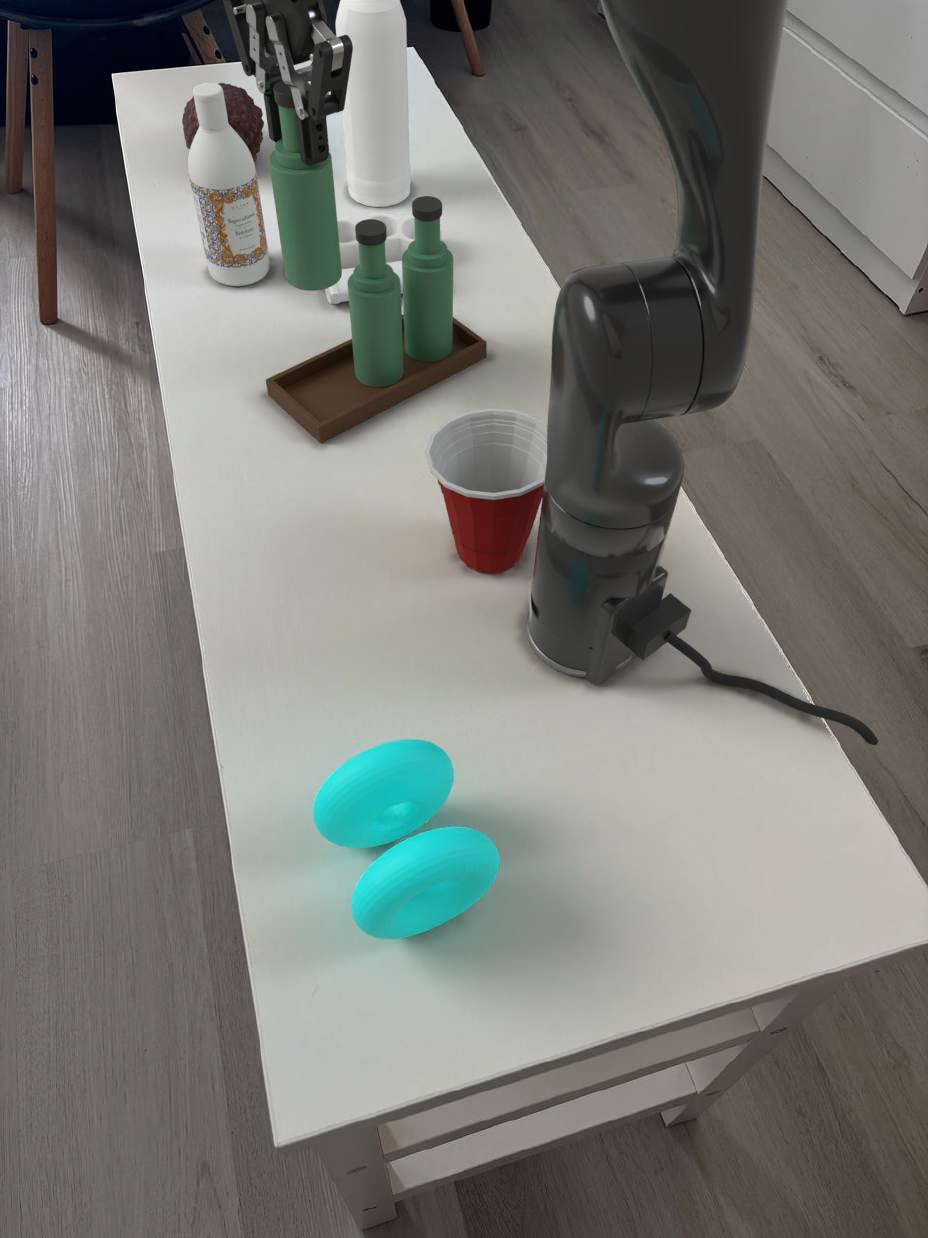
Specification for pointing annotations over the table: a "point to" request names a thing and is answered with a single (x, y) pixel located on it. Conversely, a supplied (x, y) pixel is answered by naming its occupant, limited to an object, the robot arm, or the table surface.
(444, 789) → the turquoise yo-yo
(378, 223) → the tray bottle
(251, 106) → the pine cone
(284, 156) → the loose bottle
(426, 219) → the tray bottle
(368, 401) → the tray
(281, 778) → the table surface
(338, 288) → the white piece
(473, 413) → the plastic cup
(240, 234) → the bath foam
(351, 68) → the bottle
